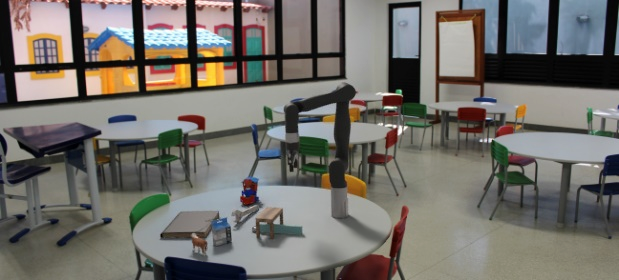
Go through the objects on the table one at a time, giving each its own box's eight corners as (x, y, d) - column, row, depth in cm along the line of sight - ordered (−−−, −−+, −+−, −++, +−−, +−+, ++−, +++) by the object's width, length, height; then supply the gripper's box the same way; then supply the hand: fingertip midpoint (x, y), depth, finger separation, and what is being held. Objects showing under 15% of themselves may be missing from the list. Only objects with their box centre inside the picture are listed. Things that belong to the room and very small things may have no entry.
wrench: (258, 214, 318) (234, 225, 290) (256, 213, 319) (231, 225, 291) (258, 200, 317) (234, 211, 289) (256, 200, 318) (231, 210, 290)
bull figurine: (196, 246, 264) (194, 231, 263) (210, 254, 254) (209, 238, 253) (188, 249, 262) (186, 233, 260) (202, 257, 252) (200, 240, 250)
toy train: (260, 198, 338) (259, 175, 335) (254, 206, 323) (253, 182, 320) (244, 198, 340) (243, 175, 337) (238, 206, 324) (236, 182, 321)
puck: (261, 229, 285) (261, 226, 284) (259, 232, 280) (259, 229, 280) (253, 229, 285) (252, 226, 285) (251, 232, 281) (251, 229, 281)
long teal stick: (302, 233, 278) (302, 225, 277) (301, 234, 276) (301, 226, 275) (260, 231, 283) (260, 223, 282) (259, 232, 281) (259, 224, 280)
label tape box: (216, 246, 263) (214, 223, 261) (212, 244, 267) (211, 220, 264) (232, 242, 268) (230, 219, 266) (228, 239, 272) (226, 216, 269)
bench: (283, 226, 288) (282, 207, 286) (273, 238, 271) (272, 219, 269) (267, 225, 290) (266, 206, 288) (256, 237, 273) (255, 218, 271)
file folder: (205, 231, 275) (159, 232, 276) (206, 238, 276) (160, 239, 277) (219, 210, 307) (178, 211, 309) (220, 216, 308) (179, 217, 309)
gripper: (289, 137, 293) (290, 166, 296) (281, 143, 279) (283, 173, 282) (302, 138, 291) (303, 166, 294) (295, 143, 278) (297, 173, 281)
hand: (293, 169), depth 288 cm, fingers open, 8 cm apart
